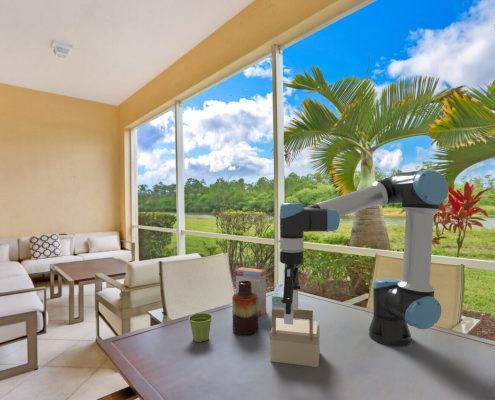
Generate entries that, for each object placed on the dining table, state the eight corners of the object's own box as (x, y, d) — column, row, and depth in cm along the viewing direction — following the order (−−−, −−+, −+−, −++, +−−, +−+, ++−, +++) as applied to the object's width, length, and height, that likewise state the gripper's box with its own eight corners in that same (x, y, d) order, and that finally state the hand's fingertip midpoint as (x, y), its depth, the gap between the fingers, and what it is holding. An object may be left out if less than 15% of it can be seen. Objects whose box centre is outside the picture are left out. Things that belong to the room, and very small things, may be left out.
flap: (318, 324, 114) (317, 298, 114) (315, 342, 100) (315, 312, 100) (276, 320, 118) (276, 295, 118) (268, 337, 104) (268, 308, 104)
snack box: (284, 333, 130) (284, 297, 130) (271, 332, 131) (270, 296, 131) (288, 314, 151) (288, 283, 151) (276, 314, 152) (276, 282, 152)
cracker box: (266, 312, 154) (266, 269, 153) (260, 316, 149) (260, 272, 148) (242, 307, 161) (242, 266, 161) (235, 311, 156) (235, 268, 156)
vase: (262, 333, 131) (261, 283, 130) (237, 337, 127) (237, 286, 127) (252, 323, 141) (251, 277, 141) (229, 327, 137) (228, 280, 137)
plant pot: (206, 345, 120) (206, 323, 120) (184, 342, 123) (184, 320, 123) (216, 335, 129) (216, 314, 129) (196, 332, 132) (195, 311, 132)
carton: (319, 352, 114) (319, 324, 114) (318, 367, 104) (318, 337, 104) (275, 347, 118) (275, 320, 118) (270, 361, 108) (269, 332, 108)
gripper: (285, 244, 116) (285, 302, 116) (272, 257, 92) (272, 330, 92) (306, 245, 114) (306, 304, 114) (299, 258, 90) (299, 332, 90)
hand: (291, 315), depth 103 cm, fingers open, 13 cm apart
